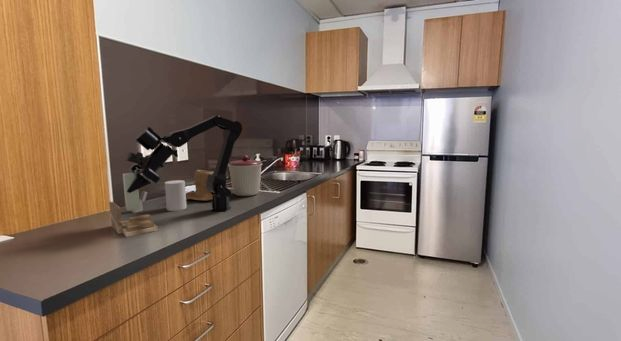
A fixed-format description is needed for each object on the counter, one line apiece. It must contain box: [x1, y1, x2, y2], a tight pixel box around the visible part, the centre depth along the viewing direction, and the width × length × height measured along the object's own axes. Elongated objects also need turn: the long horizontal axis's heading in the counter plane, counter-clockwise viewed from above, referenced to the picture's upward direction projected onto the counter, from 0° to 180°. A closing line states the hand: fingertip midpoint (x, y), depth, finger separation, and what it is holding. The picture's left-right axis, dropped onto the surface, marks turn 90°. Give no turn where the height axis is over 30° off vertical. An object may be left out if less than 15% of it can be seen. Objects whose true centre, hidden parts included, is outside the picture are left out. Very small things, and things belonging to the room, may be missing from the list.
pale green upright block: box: [122, 172, 140, 211], centre depth 114 cm, size 4×3×13 cm
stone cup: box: [186, 169, 214, 202], centre depth 157 cm, size 15×12×15 cm
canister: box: [228, 154, 263, 197], centre depth 168 cm, size 18×18×21 cm
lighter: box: [131, 191, 148, 214], centre depth 137 cm, size 7×2×8 cm, turn 158°
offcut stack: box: [124, 213, 155, 232], centre depth 109 cm, size 8×4×4 cm, turn 132°
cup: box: [164, 179, 187, 212], centre depth 140 cm, size 8×8×12 cm
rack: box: [108, 201, 159, 238], centre depth 112 cm, size 11×17×9 cm, turn 42°
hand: (127, 191), depth 113 cm, fingers closed on pale green upright block, 3 cm apart
